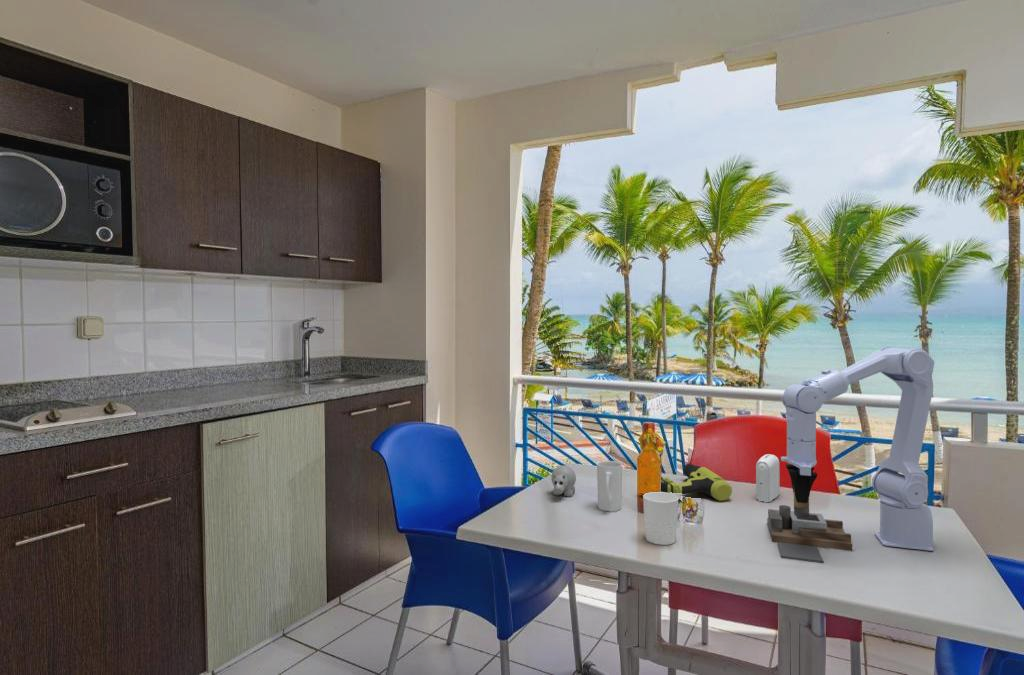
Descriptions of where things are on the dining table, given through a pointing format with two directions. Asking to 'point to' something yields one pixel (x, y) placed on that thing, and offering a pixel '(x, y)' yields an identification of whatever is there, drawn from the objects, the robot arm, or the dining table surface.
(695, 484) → the cordless drill
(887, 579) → the dining table surface
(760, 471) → the photo printer
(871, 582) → the dining table surface
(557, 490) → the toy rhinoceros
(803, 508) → the wooden square peg
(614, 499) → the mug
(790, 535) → the chuck base
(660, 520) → the white cup
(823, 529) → the grey square frame
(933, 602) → the dining table surface
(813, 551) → the pad
